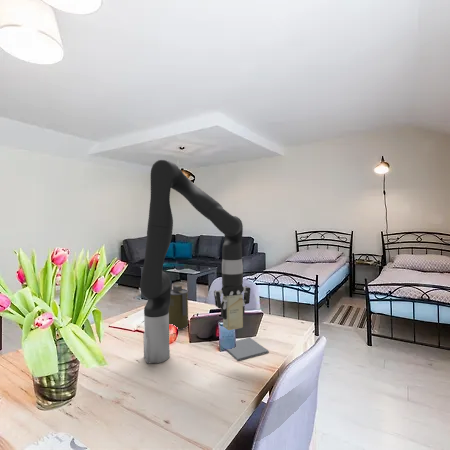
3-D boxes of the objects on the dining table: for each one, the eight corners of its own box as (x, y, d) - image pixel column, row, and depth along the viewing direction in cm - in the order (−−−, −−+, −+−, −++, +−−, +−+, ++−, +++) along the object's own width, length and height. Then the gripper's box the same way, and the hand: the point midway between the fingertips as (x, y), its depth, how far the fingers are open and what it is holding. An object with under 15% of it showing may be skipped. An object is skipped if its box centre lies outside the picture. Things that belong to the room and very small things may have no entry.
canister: (163, 326, 144) (162, 286, 143) (181, 320, 151) (180, 282, 151) (175, 332, 136) (174, 290, 136) (193, 326, 143) (192, 286, 143)
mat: (237, 361, 108) (237, 358, 108) (221, 346, 121) (221, 344, 121) (268, 352, 115) (268, 350, 115) (249, 339, 127) (249, 337, 127)
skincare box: (228, 331, 102) (228, 296, 101) (222, 326, 106) (222, 293, 105) (243, 327, 105) (243, 294, 104) (237, 323, 109) (237, 291, 108)
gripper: (244, 268, 111) (245, 311, 112) (209, 271, 105) (210, 317, 105) (254, 271, 104) (255, 317, 105) (218, 275, 98) (219, 324, 99)
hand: (232, 317), depth 105 cm, fingers closed on skincare box, 6 cm apart
